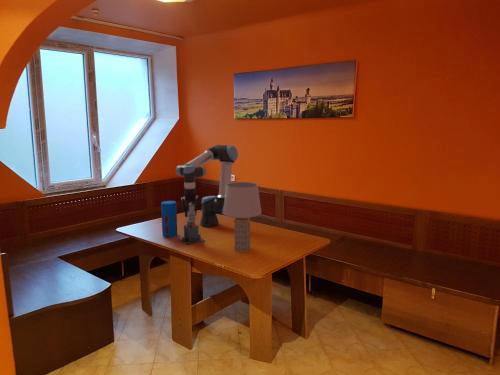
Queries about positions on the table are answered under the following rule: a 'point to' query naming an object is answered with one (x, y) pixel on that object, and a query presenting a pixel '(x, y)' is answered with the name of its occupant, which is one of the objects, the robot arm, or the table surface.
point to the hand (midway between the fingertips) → (190, 220)
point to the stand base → (191, 235)
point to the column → (191, 214)
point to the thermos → (169, 219)
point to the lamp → (242, 210)
